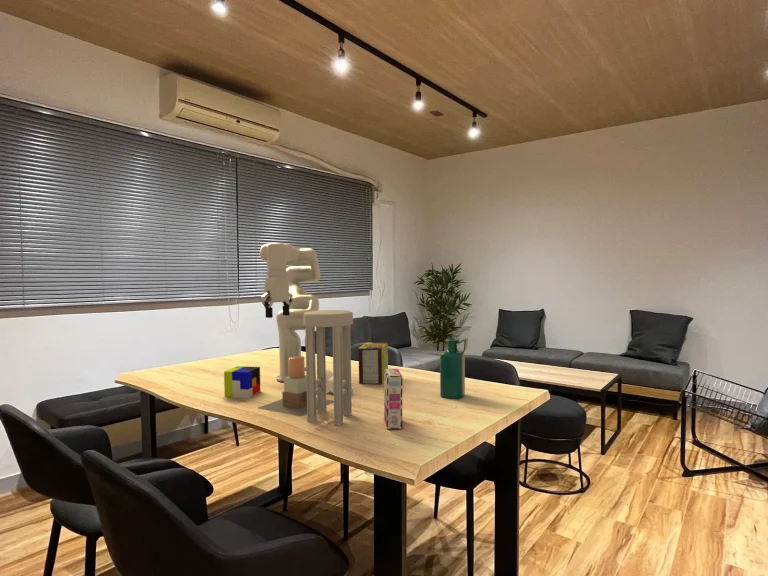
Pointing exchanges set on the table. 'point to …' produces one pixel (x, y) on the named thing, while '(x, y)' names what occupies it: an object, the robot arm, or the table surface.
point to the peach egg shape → (296, 367)
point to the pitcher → (453, 370)
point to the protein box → (372, 362)
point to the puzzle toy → (242, 381)
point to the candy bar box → (393, 398)
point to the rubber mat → (289, 408)
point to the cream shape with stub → (330, 382)
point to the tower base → (294, 399)
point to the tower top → (295, 385)
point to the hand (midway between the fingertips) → (277, 316)
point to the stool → (341, 362)
